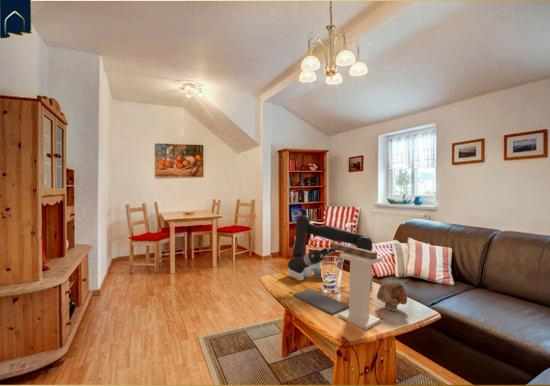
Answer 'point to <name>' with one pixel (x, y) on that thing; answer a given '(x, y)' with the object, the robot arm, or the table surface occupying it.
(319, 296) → the rubber mat
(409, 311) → the table surface
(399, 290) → the sculpture
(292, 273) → the cable organizer
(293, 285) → the table surface
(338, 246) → the walnut bar
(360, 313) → the stand
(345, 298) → the table surface
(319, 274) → the chinaware
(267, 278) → the table surface
